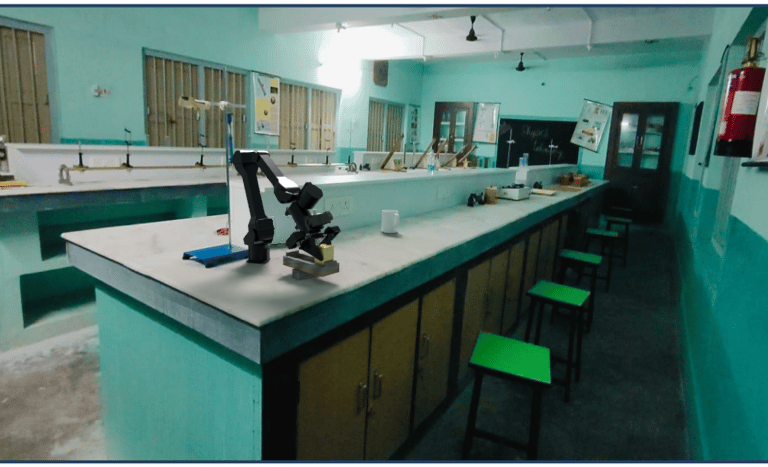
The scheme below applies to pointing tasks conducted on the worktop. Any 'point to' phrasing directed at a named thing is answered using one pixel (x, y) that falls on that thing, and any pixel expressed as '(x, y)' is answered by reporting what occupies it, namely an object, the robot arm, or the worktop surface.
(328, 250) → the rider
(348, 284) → the worktop surface
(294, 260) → the grey open tray
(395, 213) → the mug
